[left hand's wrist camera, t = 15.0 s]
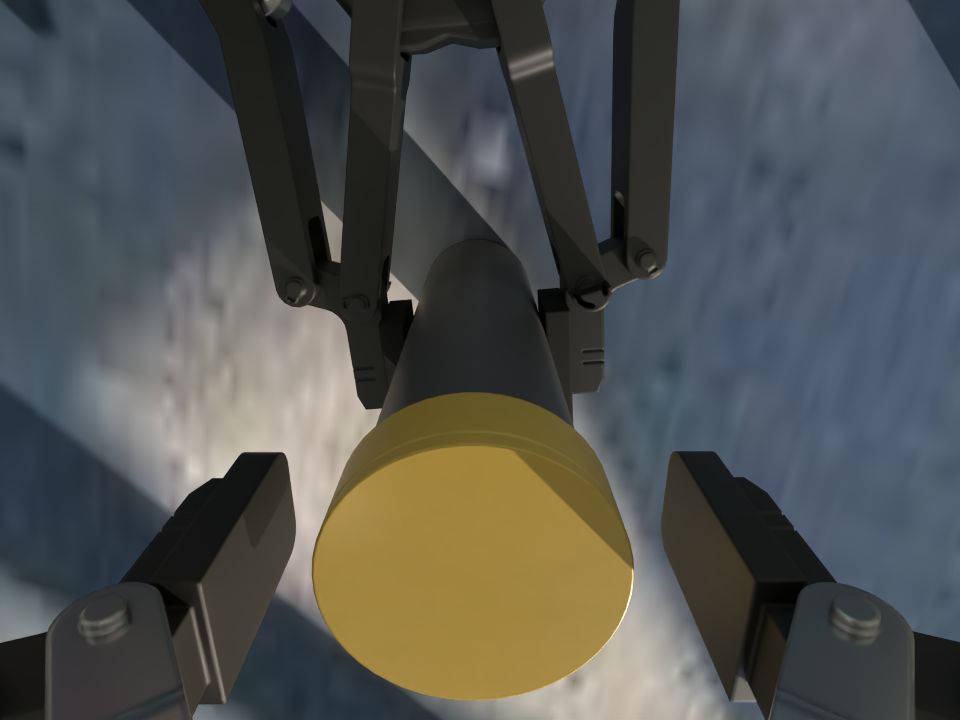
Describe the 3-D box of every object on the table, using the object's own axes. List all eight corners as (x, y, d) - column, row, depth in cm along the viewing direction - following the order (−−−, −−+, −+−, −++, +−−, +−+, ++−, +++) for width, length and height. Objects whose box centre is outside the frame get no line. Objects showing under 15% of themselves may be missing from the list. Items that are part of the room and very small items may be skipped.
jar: (494, 356, 27) (516, 693, 11) (407, 308, 26) (294, 596, 10) (548, 273, 25) (663, 519, 10) (458, 218, 25) (418, 391, 9)
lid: (658, 546, 11) (690, 620, 10) (440, 656, 12) (434, 740, 11) (516, 335, 10) (524, 380, 8) (280, 481, 11) (242, 548, 9)
